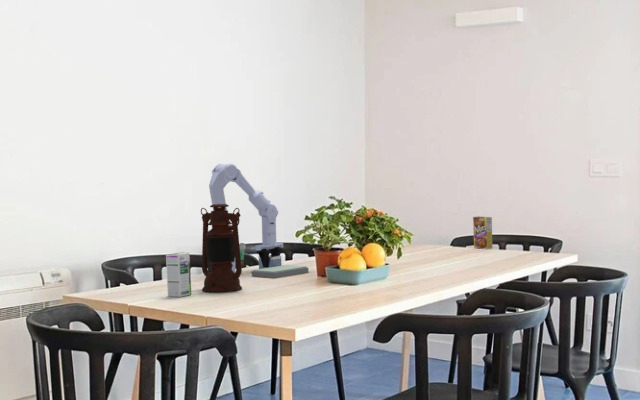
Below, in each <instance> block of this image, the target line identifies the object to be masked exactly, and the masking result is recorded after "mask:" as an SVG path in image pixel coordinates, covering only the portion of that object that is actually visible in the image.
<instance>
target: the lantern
mask: <svg viewBox="0 0 640 400" xmlns="http://www.w3.org/2000/svg"><path fill="white" fill-rule="evenodd" d="M209 207H210V208H212V210H211V211H210V212H208V210H207V209H206V208H205V207H202V208H201V209H200V215H201V220H202V242H201V243H202V247H201V248H202V251H201V252H202V253H201V271H202V273H203V276H205V278H204V281H203V287H202V289H201V290H202V292H203V293H210V294H211V293H213V294H221V293H222V294H223V293H234V292H238V291H242V290H243V287H242V286H241V281H240V277H241V275H242V272H243V268H242V267H241V256H240V246H239V245H240V237H239V236H240V235H239V224H240V221H241V220H240V217H241V214H240V209H239V207H236V208H234V210H233V212H232V213H231V212H229V210H228V209H227V210H225V207H226V208H227V207H229V204H227V203H226V204H213V205H212V204H211V205H210V206H209ZM213 207H214V208H213ZM218 207H221V208H218ZM213 209H214V211H213ZM202 210H205V213H203V211H202ZM236 210H237V212H236V213H235V211H236ZM209 226H211V229H209ZM234 261H235V262H236V269H235V273H234V272H233V270H232V266H233V265H232V262H234ZM208 264H210V265H209V267H210V271H209V270H208Z"/></svg>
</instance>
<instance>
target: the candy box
mask: <svg viewBox="0 0 640 400" xmlns="http://www.w3.org/2000/svg"><path fill="white" fill-rule="evenodd" d="M472 221H473V223H472V225H473V248H474V249H485V250H491V249H493V222H492V221H493V217H491V216H473V217H472Z"/></svg>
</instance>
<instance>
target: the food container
mask: <svg viewBox="0 0 640 400" xmlns="http://www.w3.org/2000/svg"><path fill="white" fill-rule="evenodd" d="M239 246H240V256H241V267H242V269H243V268H244V266H245V265H244V263H245V250H246V249H247V246H246V244H245V243H243V242H239ZM235 270H236V262H235Z"/></svg>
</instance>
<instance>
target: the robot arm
mask: <svg viewBox="0 0 640 400" xmlns="http://www.w3.org/2000/svg"><path fill="white" fill-rule="evenodd" d="M210 177H211V178H210V181H209V183H208V184H209V185H208V186H209V188H208V189H209V195H210V199H211V201H210V202H211V205H213V204H227V203H226V197H225V191H224V189H225V188H226V186H227V185H228V184H229V183H230V182H232V183H235V184H236V185H237V186H239V188H240V189H241V190H242V191H243V192H244V193H246V195H247V196H248V201H249V202H250V203H251V204H252V205H253V207H254V208H255V209H257V212H258V215H259V216H260V217H261V236H262V237H261V240H262V241H261V243H262V244H257V245H255V251H256V252H257V253H256V254H257V255H258V257H259V256H260V259H261V261H262V265H263V267H266V268H267V267H268V258H269V255H275V256H281V254H282V252H283V248H284V243H283V242H277V222H276V221H277V217H278V215H279V210H278V208H277V206H276V205H275V204H271V200H269V199H267V198H266V197H265V195H264V192H263V191H260V190H259V189H258V190H255V189H254V187H253V186H252V185H251V184H250V182H249V181H248V180H247V179H246V177H245V176H244V175H243V173H242V172H241V169H239V168H237V165H235V164H233V163H225V164H224V163H218V164H217V165H216V166H215V167H213V169H212V170H211V176H210ZM213 208H214V207H212V211H214V209H213ZM218 208H221V207H218ZM225 210H228V208H227V207H225ZM232 265H233V266H232V270H233V272H234V273H235V272H236V269H235V261H234V262H232Z"/></svg>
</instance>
